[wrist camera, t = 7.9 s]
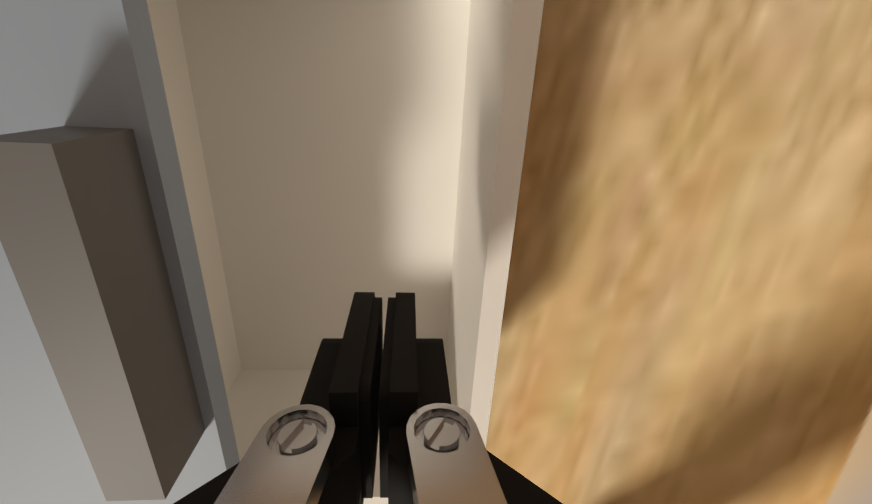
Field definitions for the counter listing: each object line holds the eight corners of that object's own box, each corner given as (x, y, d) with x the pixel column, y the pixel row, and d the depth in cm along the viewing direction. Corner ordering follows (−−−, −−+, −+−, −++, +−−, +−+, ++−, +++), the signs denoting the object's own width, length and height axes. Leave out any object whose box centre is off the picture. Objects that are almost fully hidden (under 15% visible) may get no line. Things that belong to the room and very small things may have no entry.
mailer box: (488, -31, 18) (560, -126, 9) (455, 371, 26) (477, 505, 18) (153, -55, 17) (-99, -188, 8) (233, 373, 25) (149, 516, 17)
